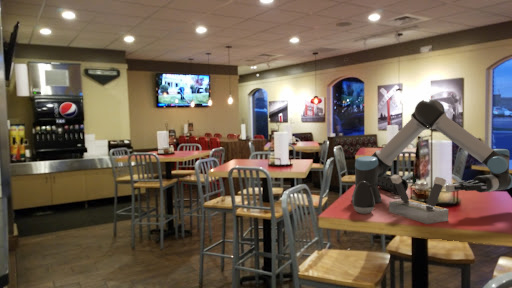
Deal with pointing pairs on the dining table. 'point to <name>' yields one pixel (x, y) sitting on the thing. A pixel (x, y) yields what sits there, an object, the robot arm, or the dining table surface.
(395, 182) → the lever
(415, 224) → the dining table surface
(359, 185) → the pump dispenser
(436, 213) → the switch panel
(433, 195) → the lever
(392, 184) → the muzzle brake
